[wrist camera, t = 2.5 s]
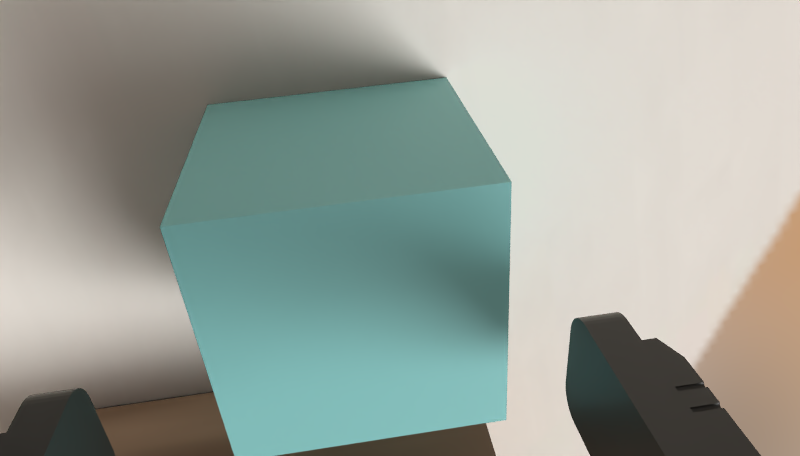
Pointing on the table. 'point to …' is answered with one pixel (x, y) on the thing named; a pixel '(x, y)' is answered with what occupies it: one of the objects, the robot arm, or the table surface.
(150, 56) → the table surface
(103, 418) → the walnut base
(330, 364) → the teal cube
